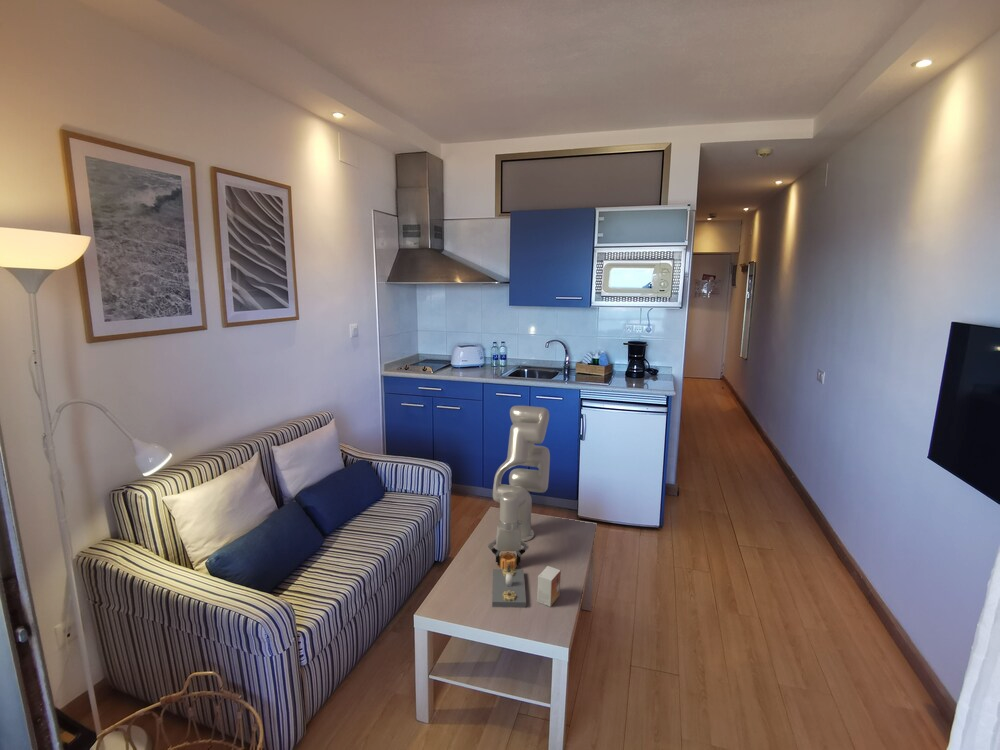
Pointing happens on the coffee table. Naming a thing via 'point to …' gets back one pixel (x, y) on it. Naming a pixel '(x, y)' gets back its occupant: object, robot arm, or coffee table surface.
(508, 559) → the gear
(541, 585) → the small box
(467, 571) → the coffee table surface
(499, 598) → the board
